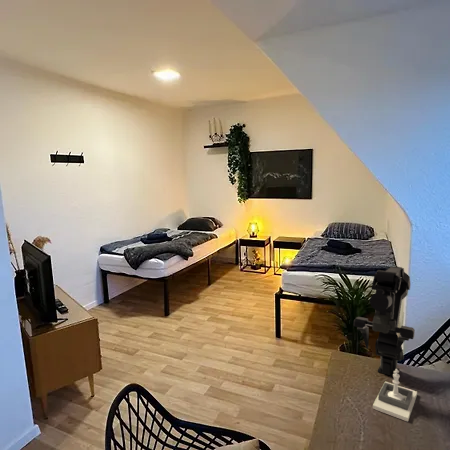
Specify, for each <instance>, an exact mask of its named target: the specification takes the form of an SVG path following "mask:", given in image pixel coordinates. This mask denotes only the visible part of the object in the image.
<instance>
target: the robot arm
mask: <svg viewBox="0 0 450 450" xmlns="http://www.w3.org/2000/svg"><path fill="white" fill-rule="evenodd" d="M371 290H373V291H375V293H373V294H372V295H371V296H370V298H369V304H370V307H372V309H374V310H375V312H374V315H373V317H372V321H370V320H369V318H366V317H362V316H356V317H355V319H354V320H353V323H352V324H353V327H355V328H356V329H357V330H358V331H360V333H361V334H362V337H363V341H364V345H365V349H367V350H368V349H369V340H370V338H369V335H370V334H369V330H370V329H369V328H372V331H373V332H378V337H377V339H376V340H375V346H374V347H375V355H376V356H380V364H379V367H378V368H377V372H378V373H380V374H384V375H388V376H390V377H393V374H394V371H395V369H397V370H398V371H399V372H400V368H399V367H398V362H401V361H403V360H404V349H403V347H402V345H403V344H404V343H405V341H410V340H414V338H415V328H414V327H410V326H406V325H401V326H400V327H399V324H400V323H399V322H400V315H401V308H402V303H403V302H402V301H403V300H404V299H405V298H406V297H407V296H408V295H409V294H408V293H409V291H410V290H411V276H409V274H407V273H406V272H405V268H403V267H402V266H394V265H393V266H389V268H388V269H386V270H381V269H377V271H376V272H375V273H374V275H373V279H372V283H371ZM398 334H399V335H398ZM399 372H398V373H397V374H399Z"/></svg>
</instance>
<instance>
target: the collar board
mask: <svg viewBox="0 0 450 450" xmlns="http://www.w3.org/2000/svg"><path fill="white" fill-rule="evenodd" d="M381 386H382V387H381V388H380V390H379V392H378V394H377V397H376V398H375V400H374V402H373V404H372V409H373V410H376V411H378V412H381V413H383V414H387V415H389V416H392V417H394V418H397V419H399V420H402V421H405V422H409V420H410V417H411V414H412V411H413V408H414V405H415V403H416V399H417V396H418V391H417V390H416V391H415V390H413V389H410V388H407V387H404V386H400V385H398V393H400V394H401V395H402V396H403V397H404V401H400V400H398V399H395V398H392V397H389V396H387V394H388V392H391V391H393V388H394V383H393V382H392V383H391V382H388V381H384V383H383V384H382V385H381Z"/></svg>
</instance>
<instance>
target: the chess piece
mask: <svg viewBox="0 0 450 450" xmlns="http://www.w3.org/2000/svg"><path fill="white" fill-rule="evenodd" d="M397 373H398V374H397ZM399 373H400V370H399V371H398V370H397V369H395V371H394V374H393V376H392V377H393V379H392V380H391V381H392V384H394V388H393V391H391V392H388V394H387V396H389V397H392V398H395V399H398V400H400V401H404V397H403V396H402V395H401V394H400V393H398V386H399V384H401V382H400V380H399V379H400V377H401V376H400V374H399Z"/></svg>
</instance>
